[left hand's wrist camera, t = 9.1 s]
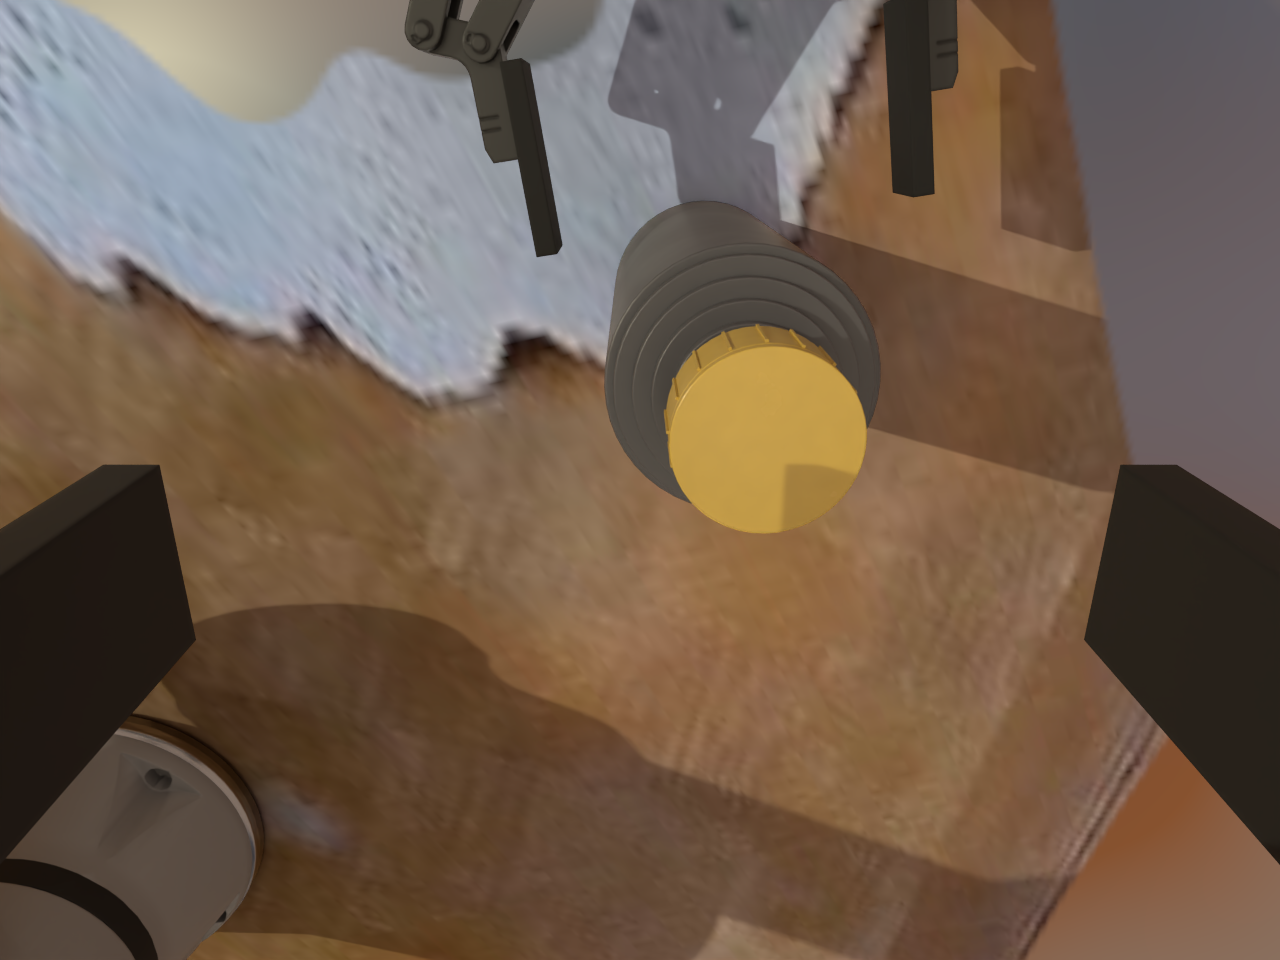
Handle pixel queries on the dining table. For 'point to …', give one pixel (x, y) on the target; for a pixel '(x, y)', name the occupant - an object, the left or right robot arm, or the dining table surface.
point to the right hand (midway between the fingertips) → (729, 223)
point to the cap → (764, 430)
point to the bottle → (716, 315)
